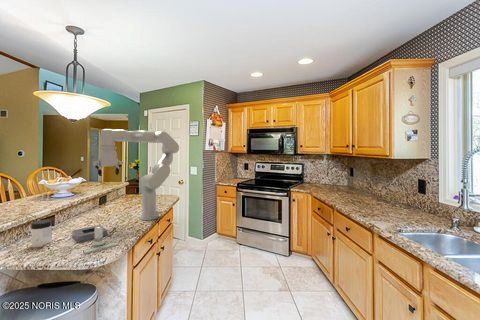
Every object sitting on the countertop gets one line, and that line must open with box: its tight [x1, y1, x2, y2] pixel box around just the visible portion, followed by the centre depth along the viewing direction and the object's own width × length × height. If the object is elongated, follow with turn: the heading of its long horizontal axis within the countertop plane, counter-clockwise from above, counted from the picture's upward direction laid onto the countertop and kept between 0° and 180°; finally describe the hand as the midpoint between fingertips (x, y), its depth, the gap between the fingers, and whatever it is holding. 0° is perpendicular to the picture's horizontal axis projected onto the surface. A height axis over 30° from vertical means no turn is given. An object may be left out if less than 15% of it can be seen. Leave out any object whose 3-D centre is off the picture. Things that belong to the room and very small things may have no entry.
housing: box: [71, 224, 108, 244], centre depth 130 cm, size 14×14×4 cm
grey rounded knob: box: [91, 225, 106, 248], centre depth 118 cm, size 6×6×9 cm
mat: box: [82, 242, 118, 255], centre depth 118 cm, size 14×12×1 cm
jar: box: [30, 219, 53, 248], centre depth 121 cm, size 9×8×12 cm
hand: (108, 175), depth 148 cm, fingers open, 9 cm apart
